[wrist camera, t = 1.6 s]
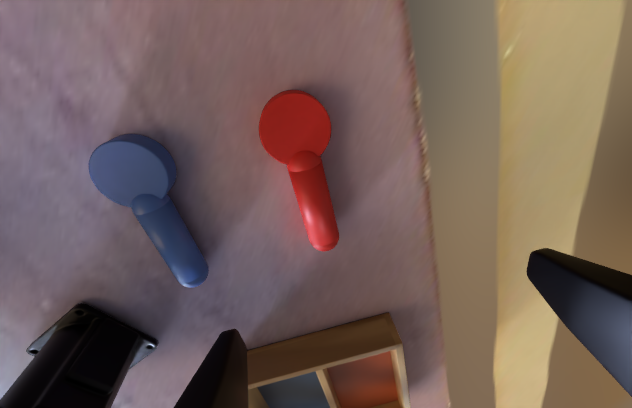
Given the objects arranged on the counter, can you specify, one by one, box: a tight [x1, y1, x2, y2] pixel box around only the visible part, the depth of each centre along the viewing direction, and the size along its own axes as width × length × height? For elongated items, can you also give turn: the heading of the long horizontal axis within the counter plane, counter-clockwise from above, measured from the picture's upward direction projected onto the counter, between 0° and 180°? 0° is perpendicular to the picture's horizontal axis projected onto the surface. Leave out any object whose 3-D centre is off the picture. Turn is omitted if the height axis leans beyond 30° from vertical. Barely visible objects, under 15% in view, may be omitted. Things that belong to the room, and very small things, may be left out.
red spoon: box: [259, 90, 339, 251], centre depth 16 cm, size 10×4×2 cm, turn 13°
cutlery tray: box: [247, 312, 411, 408], centre depth 26 cm, size 14×14×3 cm
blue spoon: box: [89, 134, 209, 287], centre depth 16 cm, size 10×4×2 cm, turn 13°
